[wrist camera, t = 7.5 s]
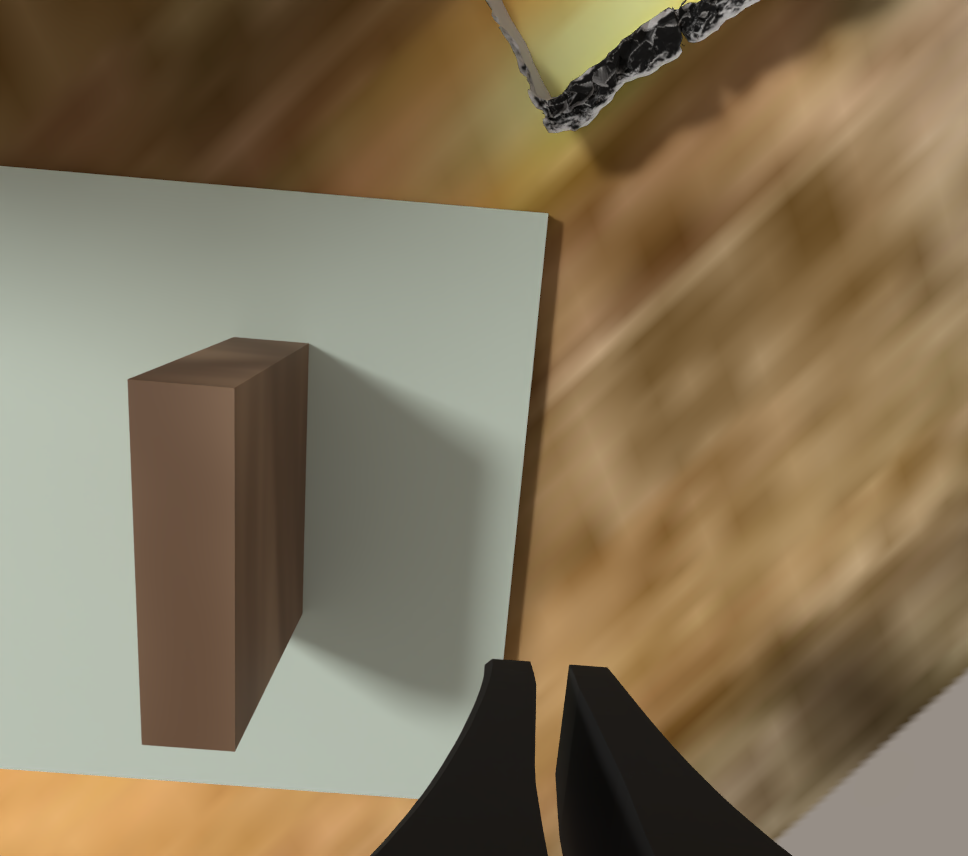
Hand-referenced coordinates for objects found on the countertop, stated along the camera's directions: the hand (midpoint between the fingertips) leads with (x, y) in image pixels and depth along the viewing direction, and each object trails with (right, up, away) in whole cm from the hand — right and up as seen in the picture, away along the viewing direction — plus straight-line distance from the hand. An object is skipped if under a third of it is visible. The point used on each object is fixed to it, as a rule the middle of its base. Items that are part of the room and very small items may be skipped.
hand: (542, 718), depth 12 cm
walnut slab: (-7, +3, +9) cm, 12 cm away
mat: (-9, +2, +10) cm, 13 cm away
